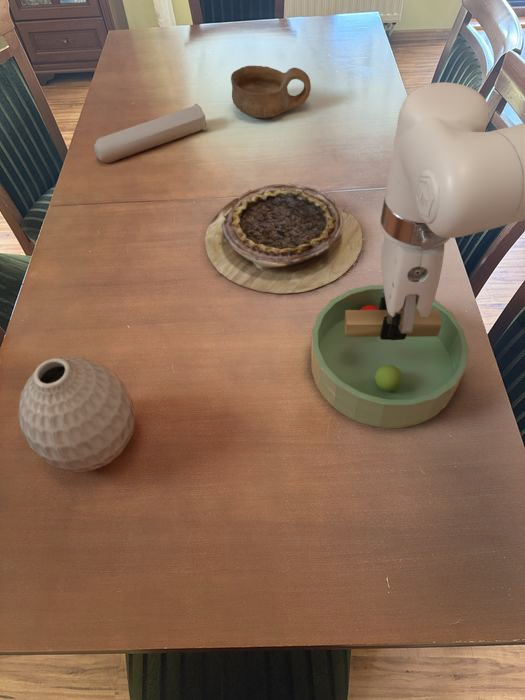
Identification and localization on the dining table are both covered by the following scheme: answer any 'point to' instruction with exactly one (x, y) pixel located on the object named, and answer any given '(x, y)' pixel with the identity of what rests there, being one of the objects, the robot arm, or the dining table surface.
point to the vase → (76, 413)
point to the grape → (388, 378)
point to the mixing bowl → (372, 353)
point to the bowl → (266, 90)
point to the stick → (372, 320)
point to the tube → (150, 134)
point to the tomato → (370, 307)
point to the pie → (283, 239)
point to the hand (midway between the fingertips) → (391, 327)
